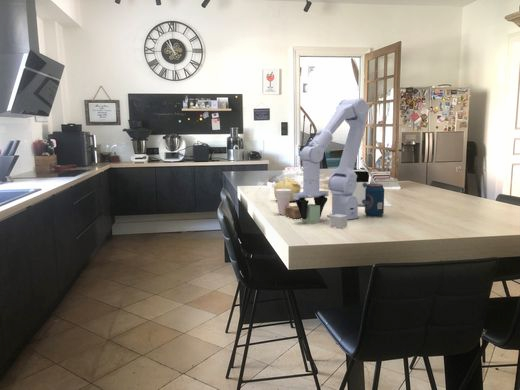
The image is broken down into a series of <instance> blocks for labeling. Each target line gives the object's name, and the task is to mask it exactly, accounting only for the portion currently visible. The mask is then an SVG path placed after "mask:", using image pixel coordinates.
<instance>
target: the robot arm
mask: <svg viewBox="0 0 520 390" xmlns="http://www.w3.org/2000/svg"><path fill="white" fill-rule="evenodd" d="M369 109H370V107H369V106H368V103H367V100H365V99H364V98H362V97H359V98H354V99H343V100H341V101H340V102H339V103H338V104H337V106H336V107H335V112H334V114H333V115H332V117H331V118H330V120H329V121H328V122H327V124H326V125H325V128H324V129H319V130H317V131H316V133H315V136H314V137H313V139H312V140H311V141H309V142H308V145H307V146H304V147H303V148H302V149H301V151H300V154H299V158H300V160H301V162H302V163H301V164H302V166H303V167H302V171H303V172H302V173H303V174H302V176H303V178H302V179H303V181H302V184H303V185H302V187H303V188H302V190H303V191H300V193H296V194H293V199H295V201H294V202H295V204H296V206H298V208H299V211H300V215H301V218H302V219H306V217H307V206H308V204H309V202H310V201H309V200H307V199H313V201H314V204H315V205H319V206H320V218H321V216H322V213H323V210H324V207H325V205H326V204H327V202H328V197H329V196H330V195H329V194H330V193H331V213H330V214H327V215H326V216H327V217H329V218H331V215H335V214H341V215H347V221H348V220H354V219H355V220H356V219H359V218H360V216H359V215H358V214H359V213H358V211H359V208H358V207H359V206H358V200H357V198H356V197H355V196H353V195H352V194H353V192H354V191H355V189H356V179H357V175H356V174H355V172H354V171H353V170H355V165H356V162H357V158H358V155H359V151H360V148H361V144H362V140H363V137H364V134H365V130H366V126H367V118H368V117H367V116H368V113H369ZM344 121H345V122H346V123H347V125H348V126H349V129H348V134H347V137H346V139H345V143H344V144H345V145H344V147H343V151H342V154H341V157H340V158H341V159H340V161H339V165H338V166H337V168H335V169H334V170H333V172H332V173H331V176H330V177H329V179H328V181H327V187H328V189H329V190H330V193H329V190H320V170H321V169H320V168H321V167H320V166H321V165H320V162H321V161H323V159H324V153H325V151H326V149H327V148H328V147H329V145H330V143H332V141H333V140H334V138H333V134H334V133H336V131H337V130H338V129H339V127H341V125H342V124H343V123H344ZM345 176H346V177H345ZM302 219H301V220H302Z"/></svg>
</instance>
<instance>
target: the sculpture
mask: <svg viewBox="0 0 520 390" xmlns="http://www.w3.org/2000/svg"><path fill="white" fill-rule="evenodd" d="M284 179H285V189H291V195H290V202H291V203H293V201H294V202H295V199H293V194H296V193H301V188H302V187H301V184H300V183H299V182H298V181H296V180H294V178H284ZM276 189H283V179H282V180H279V181H278V182H277V183H276V185H275V186H274V190H273V191H274V192H273V193H274V196H275V199H276V200H277V196H276V193H275V190H276Z"/></svg>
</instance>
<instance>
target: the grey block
mask: <svg viewBox="0 0 520 390" xmlns="http://www.w3.org/2000/svg"><path fill="white" fill-rule="evenodd" d="M330 215H331V214H330ZM346 226H347V227H348V220H347V215H341V214H335V215H331V217H330V228H333V227H336V228H335V229H339V228H341V229H344V228H343V227H345V228H347V227H346Z"/></svg>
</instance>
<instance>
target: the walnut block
mask: <svg viewBox="0 0 520 390" xmlns="http://www.w3.org/2000/svg"><path fill="white" fill-rule="evenodd" d="M285 216H286V218H288V217H289V218H288V219H291V218H292V220H294V219H296V220H302V219H301V215H300V211H299V208H298V206H297V205H291V206H290V205H289V206H288V207H285V215H284V217H285Z"/></svg>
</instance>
